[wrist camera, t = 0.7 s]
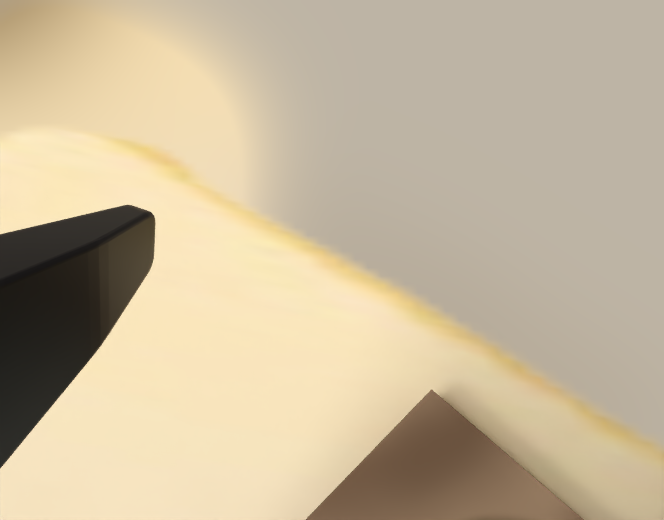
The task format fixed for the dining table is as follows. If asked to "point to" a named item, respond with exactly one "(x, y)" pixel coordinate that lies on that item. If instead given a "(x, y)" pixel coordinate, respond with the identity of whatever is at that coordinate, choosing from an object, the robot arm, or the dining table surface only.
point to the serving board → (440, 476)
